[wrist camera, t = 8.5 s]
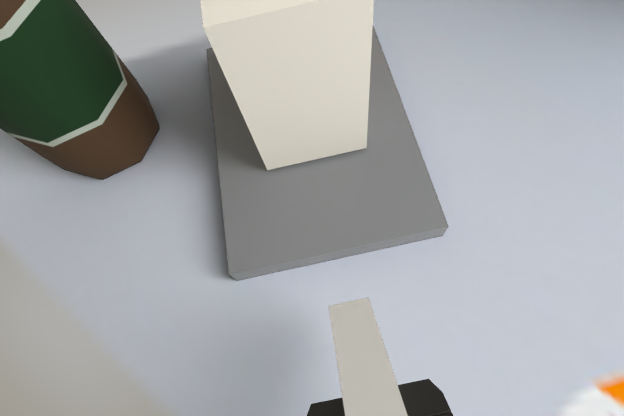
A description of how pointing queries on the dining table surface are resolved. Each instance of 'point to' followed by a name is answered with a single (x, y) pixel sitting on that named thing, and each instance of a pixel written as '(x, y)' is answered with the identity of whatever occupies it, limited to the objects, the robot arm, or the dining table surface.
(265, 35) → the cream tall block
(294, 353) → the dining table surface
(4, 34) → the beer bottle
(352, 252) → the base
